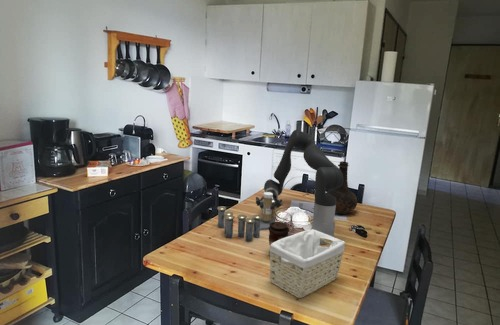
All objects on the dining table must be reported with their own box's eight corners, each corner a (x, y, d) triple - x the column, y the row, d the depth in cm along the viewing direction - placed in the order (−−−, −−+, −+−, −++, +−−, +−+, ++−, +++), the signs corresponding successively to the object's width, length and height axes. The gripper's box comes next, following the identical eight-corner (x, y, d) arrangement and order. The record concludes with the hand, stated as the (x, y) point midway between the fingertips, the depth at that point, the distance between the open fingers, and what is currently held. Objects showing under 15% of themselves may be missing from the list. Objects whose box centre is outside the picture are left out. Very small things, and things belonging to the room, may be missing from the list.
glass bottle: (358, 209, 207) (364, 161, 201) (353, 219, 191) (359, 167, 185) (326, 204, 214) (331, 157, 208) (319, 213, 198) (324, 162, 192)
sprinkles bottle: (269, 221, 176) (271, 195, 173) (260, 220, 178) (262, 193, 175) (272, 218, 180) (274, 192, 177) (263, 217, 182) (265, 191, 179)
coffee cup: (262, 251, 150) (264, 221, 148) (280, 248, 154) (282, 219, 151) (272, 261, 143) (274, 230, 140) (290, 258, 146) (293, 227, 143)
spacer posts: (264, 240, 161) (266, 220, 158) (229, 244, 155) (230, 223, 153) (247, 222, 180) (248, 204, 178) (215, 225, 174) (216, 206, 172)
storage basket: (307, 262, 144) (311, 226, 141) (343, 279, 132) (347, 241, 129) (264, 282, 128) (267, 243, 124) (301, 304, 116) (305, 261, 113)
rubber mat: (284, 227, 176) (284, 225, 176) (259, 230, 171) (259, 228, 171) (272, 218, 188) (272, 216, 188) (249, 220, 183) (249, 218, 183)
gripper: (257, 188, 191) (252, 198, 175) (284, 190, 189) (282, 201, 173) (256, 201, 193) (251, 213, 177) (283, 204, 191) (281, 216, 175)
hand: (266, 207), depth 175 cm, fingers closed on sprinkles bottle, 4 cm apart
